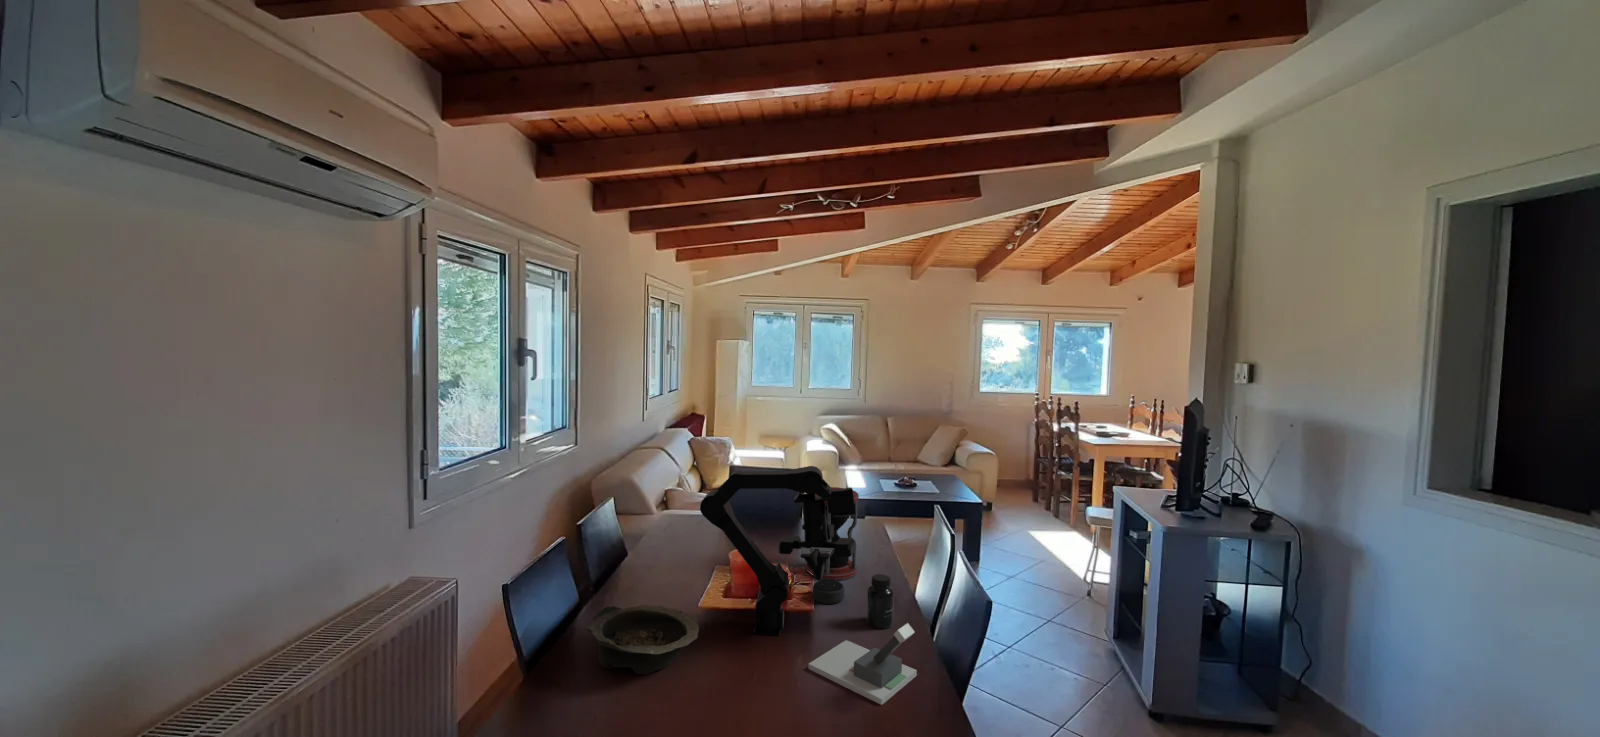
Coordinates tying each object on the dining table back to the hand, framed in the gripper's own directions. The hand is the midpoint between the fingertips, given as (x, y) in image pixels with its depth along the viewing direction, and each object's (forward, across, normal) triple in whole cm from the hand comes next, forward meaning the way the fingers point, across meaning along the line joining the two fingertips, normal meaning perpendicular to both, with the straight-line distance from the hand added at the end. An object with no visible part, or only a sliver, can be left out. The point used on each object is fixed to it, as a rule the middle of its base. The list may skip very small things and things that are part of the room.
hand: (819, 579), depth 145 cm
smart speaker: (+14, +5, -18) cm, 23 cm away
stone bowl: (+9, +34, +26) cm, 44 cm away
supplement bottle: (+15, -12, -9) cm, 21 cm away
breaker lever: (+9, -18, +16) cm, 26 cm away
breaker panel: (+14, -13, +15) cm, 24 cm away
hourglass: (+14, +10, -38) cm, 41 cm away
